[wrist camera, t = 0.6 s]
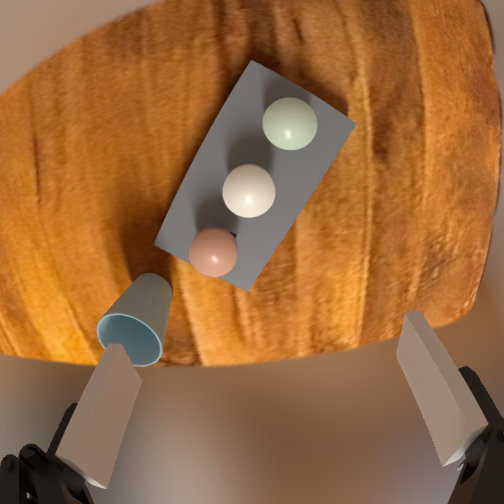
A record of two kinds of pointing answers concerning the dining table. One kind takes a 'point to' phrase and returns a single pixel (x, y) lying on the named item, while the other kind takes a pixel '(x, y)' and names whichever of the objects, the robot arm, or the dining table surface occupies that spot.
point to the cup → (139, 319)
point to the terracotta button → (213, 251)
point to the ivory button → (248, 190)
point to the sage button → (289, 123)
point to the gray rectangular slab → (259, 153)
